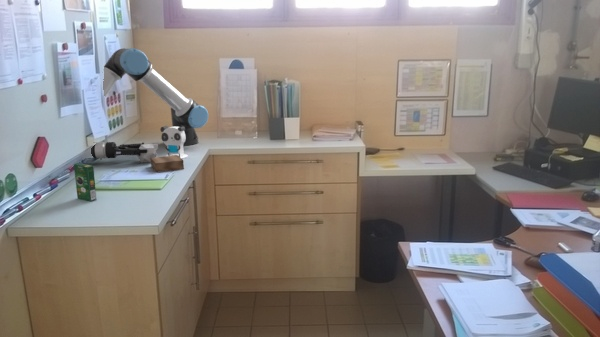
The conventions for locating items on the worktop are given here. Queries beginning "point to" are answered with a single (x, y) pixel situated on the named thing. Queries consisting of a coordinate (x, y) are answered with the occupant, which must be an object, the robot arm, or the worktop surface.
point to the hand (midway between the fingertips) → (156, 148)
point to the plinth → (167, 163)
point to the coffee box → (85, 181)
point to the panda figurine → (174, 140)
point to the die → (146, 155)
